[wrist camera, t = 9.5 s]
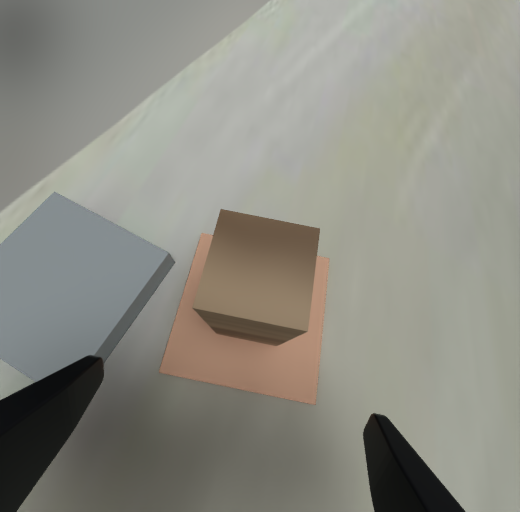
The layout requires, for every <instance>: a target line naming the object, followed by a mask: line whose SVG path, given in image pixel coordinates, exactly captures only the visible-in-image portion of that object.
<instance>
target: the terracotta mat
mask: <svg viewBox="0 0 520 512" xmlns="http://www.w3.org/2000/svg"><path fill="white" fill-rule="evenodd" d="M212 238H213V235H209V234H204V233H202V234H201V237H200V240H199V243H198V246H197V250H196V253H195V256H194V259H193V263H192V266H191V269H190V272H189V276H188V279H187V282H186V285H185V288H184V292H183V295H182V298H181V301H180V305H179V308H178V311H177V314H176V318H175V321H174V324H173V327H172V331H171V334H170V337H169V340H168V343H167V347H166V350H165V353H164V356H163V360H162V363H161V366H160V369H159V373H164V374H168V375H173V376H178V377H183V378H188V379H192V380H197V381H202V382H207V383H212V384H217V385H221V386H226V387H231V388H236V389H241V390H246V391H250V392H255V393H260V394H265V395H270V396H274V397H279V398H284V399H289V400H294V401H299V402H303V403H308V404H313V405H316V394H317V384H318V373H319V363H320V352H321V342H322V331H323V321H324V310H325V300H326V289H327V279H328V268H329V258H325V257H320V256H317V259H316V267H315V276H314V284H313V293H312V302H311V310H310V319H309V327H308V332H306V333H304V334H302V335H300V336H297V337H295V338H293V339H291V340H289V341H287V342H285V343H283V344H281V345H278V346H273V345H268V344H263V343H258V342H254V341H249V340H244V339H239V338H234V337H229V336H224V335H219V334H216V333H215V332H214V331H213V330H212V328H211V327H210V326H209V325H208V324H207V323H206V322H205V321H204V320H203V319H202V318H201V317H200V316H199V315H198V314H197V312H196V311H195V310H194V309H193V308H192V307H193V303H194V300H195V297H196V293H197V290H198V286H199V283H200V279H201V276H202V272H203V269H204V266H205V262H206V259H207V255H208V252H209V248H210V245H211V241H212Z"/></svg>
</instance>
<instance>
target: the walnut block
mask: <svg viewBox="0 0 520 512" xmlns="http://www.w3.org/2000/svg"><path fill="white" fill-rule="evenodd" d="M319 233H320V229H319V228H314V227H309V226H304V225H299V224H294V223H289V222H284V221H279V220H273V219H268V218H263V217H258V216H253V215H248V214H243V213H238V212H233V211H228V210H223V209H221V210H220V214H219V217H218V221H217V224H216V228H215V231H214V235H213V238H212V241H211V245H210V248H209V252H208V255H207V259H206V262H205V266H204V269H203V272H202V276H201V279H200V283H199V286H198V290H197V293H196V297H195V300H194V303H193V307H192V308H193V309H194V310H195V311H196V312H197V314H198V315H199V316H200V317H201V318H202V319H203V320H204V321H205V322H206V323H207V324H208V325H209V326H210V327H211V328H212V330H213V331H214V332H215V333H216V334H219V335H224V336H229V337H234V338H239V339H244V340H249V341H254V342H258V343H263V344H268V345H273V346H278V345H281V344H283V343H285V342H287V341H289V340H291V339H293V338H295V337H297V336H300V335H302V334H304V333H306V332H308V327H309V319H310V310H311V302H312V293H313V284H314V276H315V267H316V259H317V250H318V241H319Z"/></svg>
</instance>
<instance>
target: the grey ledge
mask: <svg viewBox="0 0 520 512" xmlns="http://www.w3.org/2000/svg"><path fill="white" fill-rule="evenodd" d="M174 263H175V261H174V260H173V258H172V257H171V255H170V254H169V253H168V252H166V251H164V250H163V249H161V248H159V247H157V246H155V245H153V244H151V243H150V242H148V241H146V240H144V239H142V238H140V237H138V236H136V235H135V234H133V233H131V232H129V231H127V230H125V229H123V228H122V227H120V226H118V225H116V224H114V223H112V222H110V221H108V220H107V219H105V218H103V217H101V216H99V215H97V214H95V213H94V212H92V211H90V210H88V209H86V208H84V207H82V206H80V205H79V204H77V203H75V202H73V201H71V200H69V199H67V198H66V197H64V196H62V195H60V194H58V193H56V192H54V193H53V194H52V195H51V196H49V197H48V198H47V199H46V200H45V201H44V202H43V203H42V204H41V205H40V206H39V207H38V208H37V209H36V210H35V211H34V212H33V213H32V214H31V215H30V216H29V217H28V218H27V219H26V220H25V221H24V222H23V223H22V224H21V225H20V226H19V227H18V228H17V229H16V230H14V231H13V232H12V233H11V234H10V235H9V236H8V237H7V238H6V239H5V240H4V241H3V242H2V243H1V244H0V359H2V360H3V361H5V362H6V363H8V364H9V365H11V366H12V367H14V368H15V369H17V370H18V371H20V372H21V373H23V374H25V375H26V376H28V377H29V378H31V379H32V380H34V381H35V382H37V381H39V380H41V379H43V378H45V377H47V376H48V375H50V374H52V373H54V372H56V371H58V370H60V369H62V368H64V367H66V366H68V365H70V364H72V363H74V362H76V361H78V360H80V359H81V358H83V357H85V356H88V355H94V356H99V357H102V359H103V363H104V362H105V361H106V359H107V358H108V356H109V355H110V353H111V352H112V351H113V349H114V348H115V346H116V345H117V344H118V342H119V341H120V339H121V338H122V337H123V335H124V334H125V332H126V331H127V330H128V328H129V327H130V325H131V324H132V322H133V321H134V320H135V318H136V317H137V315H138V314H139V313H140V311H141V310H142V308H143V307H144V306H145V304H146V303H147V301H148V300H149V298H150V297H151V296H152V294H153V293H154V291H155V290H156V289H157V287H158V286H159V284H160V283H161V282H162V280H163V279H164V277H165V276H166V274H167V273H168V272H169V270H170V269H171V267H172V266H173V265H174Z"/></svg>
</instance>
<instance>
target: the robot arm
mask: <svg viewBox="0 0 520 512" xmlns="http://www.w3.org/2000/svg"><path fill="white" fill-rule="evenodd" d="M103 377H104V369H103V359H102V357H99V356H94V355H88V356H85V357H83V358H81V359H80V360H78V361H76V362H74V363H72V364H70V365H68V366H66V367H64V368H62V369H60V370H58V371H56V372H54V373H52V374H50V375H48V376H47V377H45V378H43V379H41V380H39V381H37V382H35V383H33V384H31V385H29V386H27V387H25V388H23V389H21V390H19V391H17V392H15V393H14V394H12V395H10V396H8V397H6V398H4V399H2V400H0V512H16V511H17V510H18V509H19V507H20V506H21V504H22V503H23V501H24V500H25V499H26V497H27V496H28V494H29V493H30V492H31V490H32V489H33V487H34V486H35V485H36V483H37V482H38V480H39V479H40V477H41V476H42V475H43V473H44V472H45V470H46V469H47V468H48V466H49V465H50V463H51V462H52V461H53V459H54V458H55V456H56V455H57V453H58V452H59V451H60V449H61V448H62V446H63V445H64V444H65V442H66V441H67V439H68V438H69V436H70V435H71V433H72V432H73V430H74V429H75V427H76V426H77V424H78V422H79V421H80V419H81V417H82V415H83V414H84V412H85V410H86V409H87V407H88V405H89V403H90V402H91V400H92V398H93V397H94V395H95V393H96V391H97V390H98V388H99V386H100V385H101V383H102V381H103ZM363 439H364V446H365V454H366V462H367V470H368V477H369V485H370V491H371V497H372V502H373V507H374V511H375V512H465V510H464V509H463V508H462V507H461V506H460V504H459V503H458V502H457V501H456V500H455V498H454V497H453V496H452V495H451V494H450V492H449V491H448V490H447V489H446V488H445V486H444V485H443V484H442V483H441V482H440V480H439V479H438V478H437V477H436V475H435V474H434V473H433V472H432V471H431V469H430V468H429V467H428V466H427V465H426V463H425V462H424V461H423V460H422V459H421V457H420V456H419V455H418V454H417V453H416V451H415V450H414V449H413V448H412V447H411V445H410V444H409V443H408V442H407V441H406V439H405V438H404V437H403V436H402V435H401V433H400V432H399V431H398V430H397V428H396V427H395V426H394V425H393V424H392V422H391V421H390V420H389V419H388V418H387V417H386V416H384V415H380V414H376V413H373V414H371V416H370V418H369V420H368V422H367V424H366V426H365V428H364V432H363Z"/></svg>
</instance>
